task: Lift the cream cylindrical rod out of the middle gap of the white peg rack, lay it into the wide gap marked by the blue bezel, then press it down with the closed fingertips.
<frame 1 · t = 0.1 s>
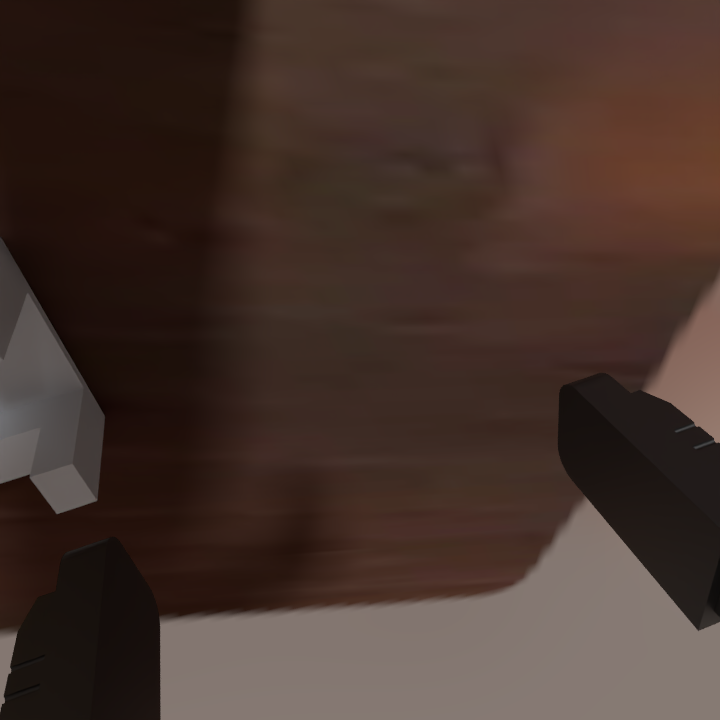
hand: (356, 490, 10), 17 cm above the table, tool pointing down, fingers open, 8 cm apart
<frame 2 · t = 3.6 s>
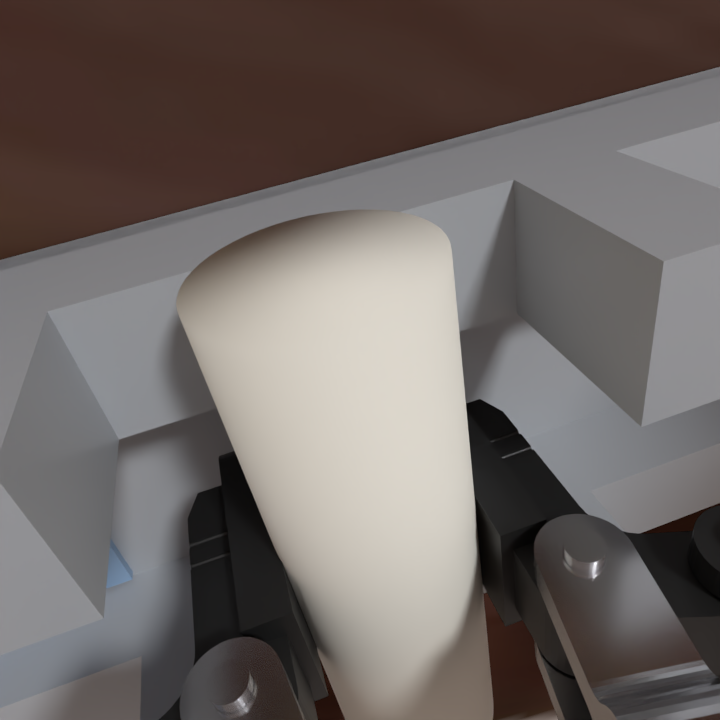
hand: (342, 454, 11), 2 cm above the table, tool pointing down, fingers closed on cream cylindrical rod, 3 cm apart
white peg rack: (324, 403, 12), on the table
cream cylindrical rod: (356, 484, 10), point 2 cm above the table, touching white peg rack, gripper
when the fingers open (3 cm above the table, at t = 8.0 s): cream cylindrical rod drops 1 cm, resting on white peg rack.
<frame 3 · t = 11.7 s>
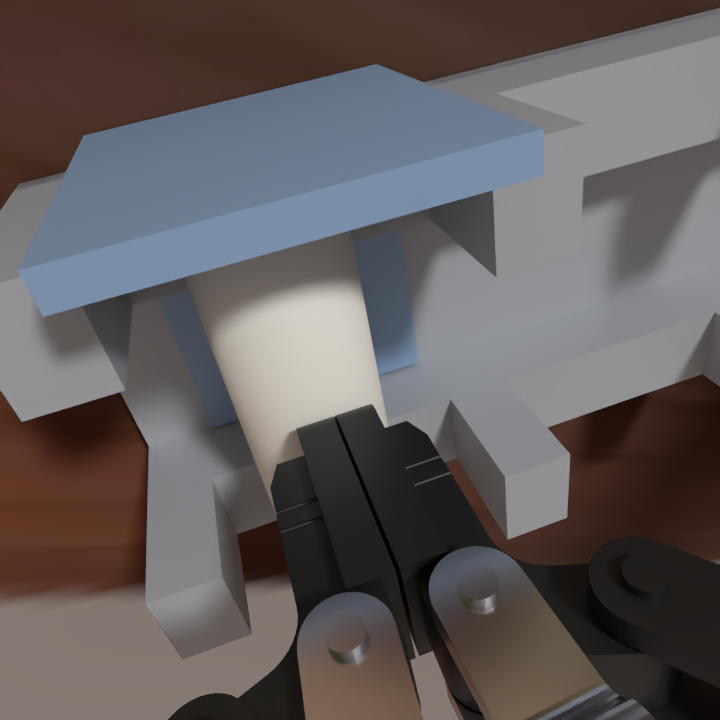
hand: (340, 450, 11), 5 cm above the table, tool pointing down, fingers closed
white peg rack: (565, 229, 17), on the table
cream cylindrical rod: (318, 370, 14), point 3 cm above the table, tilted 16°, touching white peg rack, gripper
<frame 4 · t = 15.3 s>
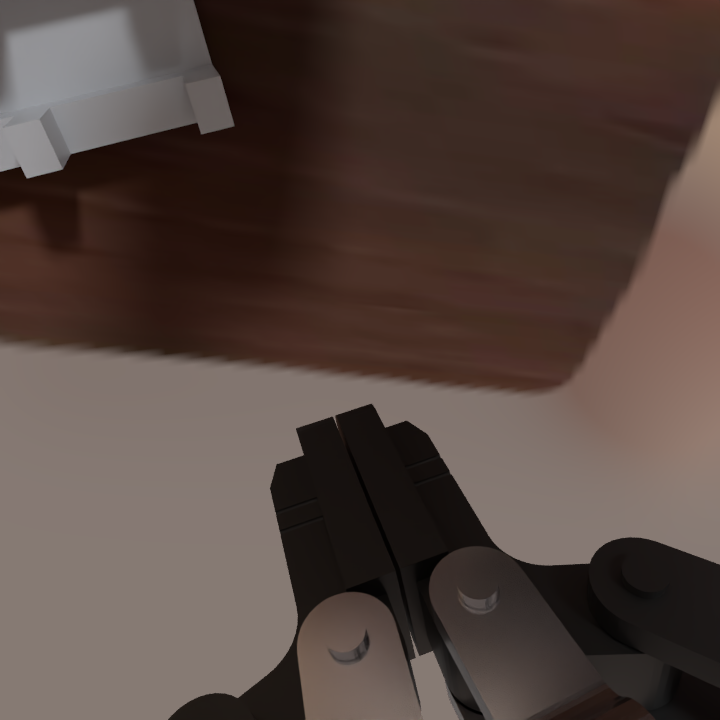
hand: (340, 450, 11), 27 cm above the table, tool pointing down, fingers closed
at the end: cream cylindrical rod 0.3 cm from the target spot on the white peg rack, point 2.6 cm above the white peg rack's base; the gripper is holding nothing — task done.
